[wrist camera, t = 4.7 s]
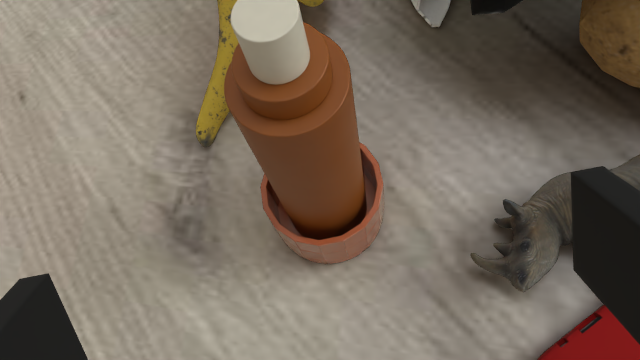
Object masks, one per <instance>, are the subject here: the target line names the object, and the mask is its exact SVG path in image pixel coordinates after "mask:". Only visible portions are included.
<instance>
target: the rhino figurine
mask: <svg viewBox="0 0 640 360" xmlns="http://www.w3.org/2000/svg"><path fill="white" fill-rule="evenodd" d="M609 171H611V172H612V173H614V174H615V175H617V176H618V177H620V178H621V179H623V180H624V181H626V182H627V183H629V184H630V185H632V186H633V187H635V188H636V189H638V190H639V191H640V155H638V156H636V157H634V158H632V159H630V160H629V161H628V162H626V163H624V164H623V165H621V166H619V167H617V168H614V169H611V170H609ZM503 205H504V208H505V210H506V212H507V213H509V214H510V215H512V216H511V218H502V219H498V218H496V219H494V220H495V222H496V223H497V225H498V226H500V227H503V228H512V230H513V235H514V239H513V241H512V242H511V243H494V244H493V246H494V247H495V248H496V249H497V250H498V251H499V252H500V253H501V254H502V255H503V256H504V257H503V258H501V259H484V258H482V257H480V256H478V255H477V254H475V253H471V258H472V259H473V261H474V262H475V263H476V264H477V265H479V266H480V267H481V268H483V269H485V270H487V271H490V272H493V273H495V274H499V275H502V276H504V277H505V278H507V279H509V281H510V282H511V284H512V285H513V286H514V287H515V288H516V289H518V290H519V291H522V292H525V291H526V290H528V289H530V288H531V287H532V286H533V285H534V284H535V283H537V282H538V281H539V280H540V279H541V278H542V277H543V276H544V275H545V274H546V273H548V272H549V271H550V269H551V268H552V267H553V265H554V264H555V263H556V261H557V259H558V254H559V246H560V245H568V244H569V243H570V242H571V243H573V232H572V199H571V172H570V173H565V174H562V175H559V176H557V177H555V178H553V179H551V180H550V181H548V182H547V183H546V184H544V185H543V186H542V187H541V188H540V189H539V190H538V191H537V192H536V193H535V194H534V195H533V196H532V197H531V198H530V200H529V201H528V202H526V203H525V204H523V206H522V207H520V206H519V205H517V204H516V203H514V202H512V201H510V200H507V199H504V200H503Z"/></svg>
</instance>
